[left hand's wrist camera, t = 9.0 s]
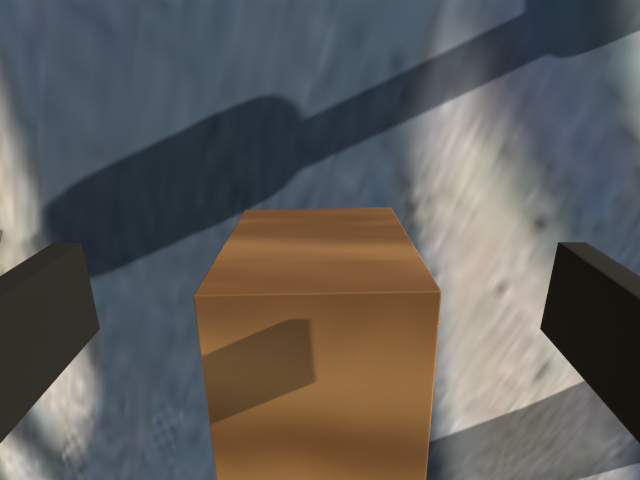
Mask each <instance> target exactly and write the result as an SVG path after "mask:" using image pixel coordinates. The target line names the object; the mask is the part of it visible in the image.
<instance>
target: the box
mask: <svg viewBox="0 0 640 480" xmlns="http://www.w3.org/2000/svg"><path fill="white" fill-rule="evenodd" d="M193 299H194V307H195V315H196V322H197V330H198V338H199V346H200V354H201V362H202V370H203V377H204V385H205V393H206V401H207V409H208V417H209V424H210V432H211V440H212V448H213V456H214V464H215V472H216V479H217V480H426V472H427V460H428V448H429V436H430V423H431V411H432V399H433V386H434V374H435V362H436V350H437V337H438V325H439V313H440V300H441V290H440V289H439V287H438V285H437V284H436V282H435V280H434V279H433V277H432V275H431V274H430V272H429V270H428V269H427V267H426V265H425V264H424V262H423V260H422V259H421V257H420V255H419V254H418V252H417V250H416V249H415V247H414V245H413V244H412V242H411V240H410V239H409V237H408V235H407V234H406V232H405V230H404V229H403V227H402V225H401V223H400V222H399V220H398V218H397V217H396V215H395V213H394V212H393V210H392V208H336V209H281V210H245V211H244V213H243V214H242V216H241V218H240V219H239V221H238V223H237V224H236V226H235V227H234V229H233V231H232V232H231V234H230V236H229V237H228V239H227V241H226V242H225V244H224V246H223V247H222V249H221V251H220V252H219V254H218V256H217V257H216V259H215V261H214V262H213V264H212V265H211V267H210V269H209V270H208V272H207V274H206V275H205V277H204V279H203V280H202V282H201V284H200V285H199V287H198V289H197V290H196V292H195V294H194V295H193Z"/></svg>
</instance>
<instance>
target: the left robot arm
mask: <svg viewBox="0 0 640 480" xmlns="http://www.w3.org/2000/svg"><path fill="white" fill-rule="evenodd" d="M99 329H100V328H99V323H98V318H97V313H96V308H95V304H94V299H93V294H92V289H91V284H90V280H89V275H88V270H87V265H86V260H85V255H84V251H83V246H82V242H54V243H52V244H51V245H49V246H48V247H46V248H44V249H43V250H41V251H40V252H38V253H36V254H35V255H33V256H32V257H30V258H29V259H27V260H25V261H24V262H22V263H21V264H19V265H17V266H16V267H14V268H13V269H11V270H9V271H8V272H6V273H5V274H3V275H1V276H0V443H1V442H2V441H3V440H4V438H5V437H6V436H7V435H8V434H9V433H10V432H11V430H12V429H13V428H14V427H15V426H16V425H17V424H18V422H19V421H20V420H21V419H22V418H23V417H24V415H25V414H26V413H27V412H28V411H29V410H30V409H31V407H32V406H33V405H34V404H35V403H36V402H37V400H38V399H39V398H40V397H41V396H42V395H43V394H44V392H45V391H46V390H47V389H48V388H49V387H50V386H51V384H52V383H53V382H54V381H55V380H56V379H57V377H58V376H59V375H60V374H61V373H62V372H63V371H64V369H65V368H66V367H67V366H68V365H69V364H70V362H71V361H72V360H73V359H74V358H75V357H76V356H77V354H78V353H79V352H80V351H81V350H82V349H83V348H84V346H85V345H86V344H87V343H88V342H89V341H90V339H91V338H92V337H93V336H94V335H95V334H96V333H97V331H98V330H99ZM540 329H541V330H542V331H543V333H544V334H545V335H546V336H547V337H548V338H549V339H550V341H551V342H552V343H553V344H554V345H555V346H556V348H557V349H558V350H559V351H560V352H561V353H562V354H563V356H564V357H565V358H566V359H567V360H568V361H569V362H570V364H571V365H572V366H573V367H574V368H575V369H576V371H577V372H578V373H579V374H580V375H581V376H582V377H583V379H584V380H585V381H586V382H587V383H588V384H589V386H590V387H591V388H592V389H593V390H594V391H595V392H596V394H597V395H598V396H599V397H600V398H601V399H602V400H603V402H604V403H605V404H606V405H607V406H608V407H609V409H610V410H611V411H612V412H613V413H614V414H615V415H616V417H617V418H618V419H619V420H620V421H621V422H622V424H623V425H624V426H625V427H626V428H627V429H628V430H629V432H630V433H631V434H632V435H633V436H634V437H635V438H636V440H637V441H638V442H639V443H640V276H639V275H637V274H635V273H634V272H632V271H631V270H629V269H627V268H626V267H624V266H623V265H621V264H619V263H618V262H616V261H615V260H613V259H611V258H610V257H608V256H607V255H605V254H604V253H602V252H600V251H599V250H597V249H596V248H594V247H592V246H591V245H589V244H588V243H586V242H558V246H557V251H556V255H555V260H554V265H553V270H552V275H551V280H550V284H549V289H548V294H547V299H546V304H545V308H544V313H543V318H542V323H541V328H540Z"/></svg>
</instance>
